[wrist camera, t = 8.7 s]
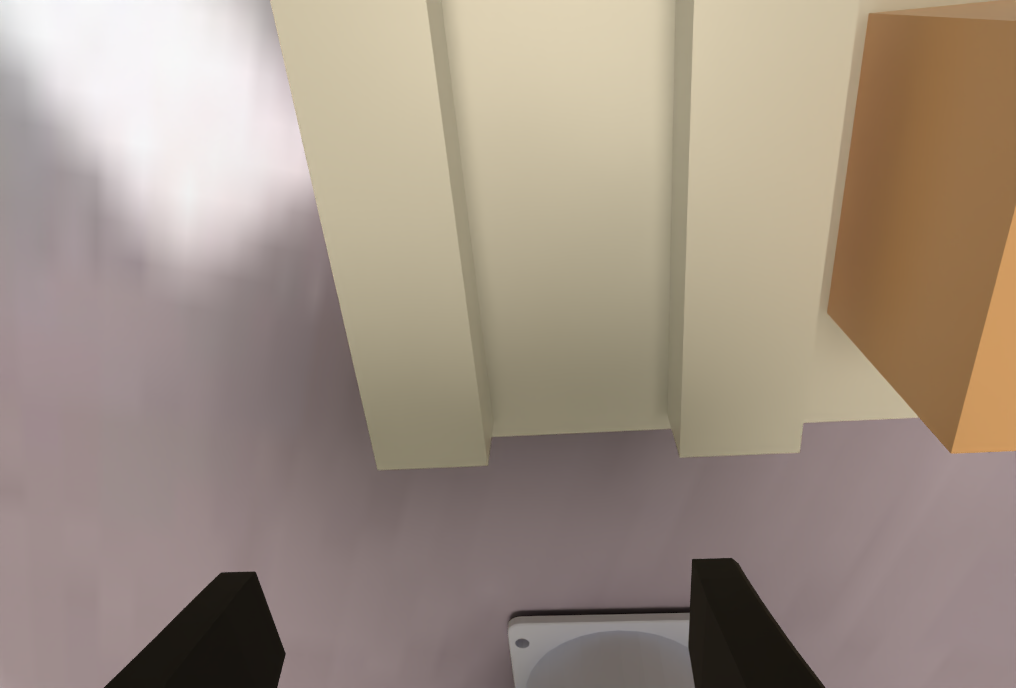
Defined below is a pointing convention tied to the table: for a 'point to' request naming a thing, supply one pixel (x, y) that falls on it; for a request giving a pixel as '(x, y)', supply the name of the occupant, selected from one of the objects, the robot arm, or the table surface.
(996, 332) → the orange plug
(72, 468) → the table surface
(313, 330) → the table surface
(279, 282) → the table surface
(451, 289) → the comb rack
